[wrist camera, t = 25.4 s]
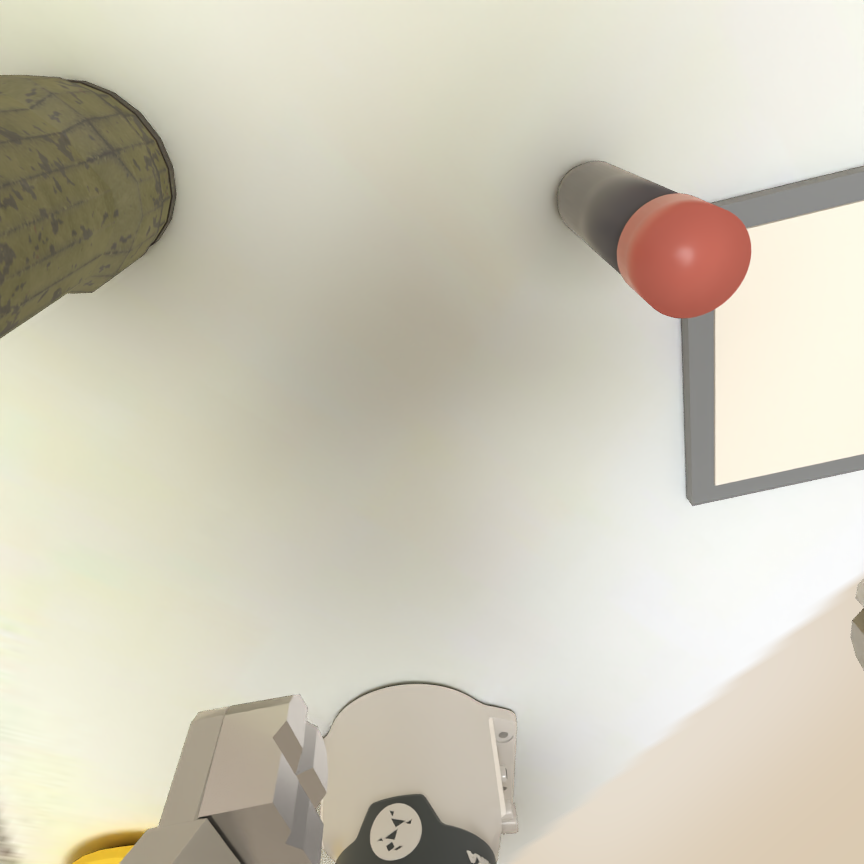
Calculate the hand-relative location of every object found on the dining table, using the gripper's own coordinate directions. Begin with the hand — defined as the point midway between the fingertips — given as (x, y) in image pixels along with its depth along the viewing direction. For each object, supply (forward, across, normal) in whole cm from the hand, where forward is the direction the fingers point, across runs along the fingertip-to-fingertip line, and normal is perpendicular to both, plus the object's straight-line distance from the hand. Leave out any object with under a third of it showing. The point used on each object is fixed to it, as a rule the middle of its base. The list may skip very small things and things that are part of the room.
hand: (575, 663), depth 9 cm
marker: (+29, +8, 0) cm, 30 cm away
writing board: (+29, +21, -12) cm, 38 cm away
